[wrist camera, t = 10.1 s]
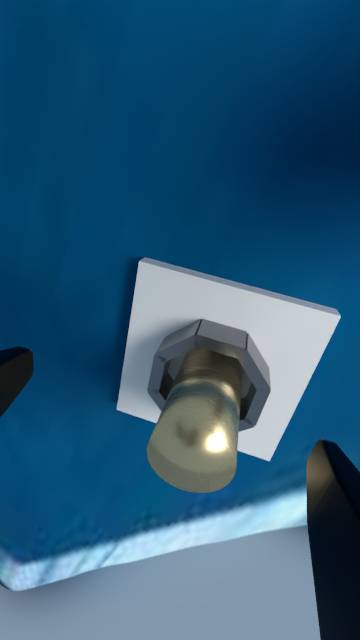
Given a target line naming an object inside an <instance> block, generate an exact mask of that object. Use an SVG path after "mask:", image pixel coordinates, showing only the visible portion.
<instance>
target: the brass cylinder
mask: <svg viewBox="0 0 360 640" xmlns="http://www.w3.org/2000/svg"><path fill="white" fill-rule="evenodd" d="M241 388H242V366H241V364H240V362H239V360H238V359H237V358H234V357H231V356H227V355H224V354H221V353H217V352H214V351H211V350H207V349H204V348H201V347H196V348H194V349H191V350H190V351H189V352H188V353H187V354H186V355H185V357H184V359H183V361H182V364H181V366H180V368H179V371H178V373H177V376H176V378H175V380H174V383H173V385H172V388H171V390H170V392H169V395H168V397H167V400H166V402H165V404H164V407H163V409H162V412H161V414H160V416H159V419H158V421H157V424H156V426H155V428H154V431H153V433H152V436H151V438H150V440H149V443H148V447H147V456H148V460H149V462H150V464H151V466H152V468H153V469H154V471H155V472H156V473H157V474H158V475H159V476H160V477H161V478H162V479H163V480H165V481H166V482H168V483H169V484H171V485H173V486H175V487H177V488H179V489H182V490H185V491H189V492H195V493H208V492H213V491H217V490H219V489H222V488H223V487H225V486H226V485H228V484H229V483H230V482H231V480H232V479H233V477H234V475H235V472H236V461H237V446H238V432H239V417H240V402H241Z"/></svg>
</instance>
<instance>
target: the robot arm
mask: <svg viewBox="0 0 360 640" xmlns="http://www.w3.org/2000/svg"><path fill="white" fill-rule="evenodd" d="M33 370H34V369H33V353H32V351H31V350H30V349H27V348H24V347H14V348H10V349H6V350H2V351H0V417H1V416H2V415H3V414H4V412H5V411H6V410H7V409H8V407H9V406H10V405H11V403H12V402H13V401H14V400H15V398H16V397H17V396H18V394H19V393H20V392H21V390H22V389H23V388H24V386H25V385H26V384H27V383H28V381H29V380H30V379H31V377H32V375H33ZM307 524H308V534H309V542H310V551H311V559H312V568H313V576H314V586H315V594H316V602H317V611H318V620H319V627H320V637H321V640H360V472H359V471H358V469H357V468H356V467H355V466H354V465H353V463H352V462H351V461H350V460H349V459H348V457H347V456H346V455H345V454H344V453H343V451H342V450H341V449H340V448H339V447H338V445H337V444H336V443H334V442H331V441H328V440H324V439H319V440H318V441H317V443H316V445H315V447H314V448H313V450H312V452H311V454H310V456H309V458H308V461H307Z"/></svg>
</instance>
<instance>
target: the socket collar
mask: <svg viewBox="0 0 360 640" xmlns="http://www.w3.org/2000/svg"><path fill="white" fill-rule="evenodd" d="M196 347H201V348H204V349H207V350H211V351H214V352H217V353H221V354H224V355H227V356H231V357H234V358H237V359H238V360H239V362H240V364H241V365H242V367H243V368H244V370H245V372H246V373H247V375H248V377H249V378H250V380H251V381H252V383H251V385H250V388H249V390H248V393H247V395H246V397H244V398H241V402H240V417H239V432H240V431H243V430H247V429H250V428H253V427H254V426H256V424H257V422H258V419H259V417H260V415H261V412H262V410H263V408H264V406H265V403H266V401H267V399H268V396H269V394H270V392H271V385H270V371H269V367H268V365H267V363H266V362H265V360H264V358H263V357H262V355H261V353H260V352H259V350H258V348H257V347H256V345H255V343H254V341H253V340H252V338H251V336H250V335H249V333H247V331H244V330H240V329H237V328H233V327H230V326H226V325H223V324H220V323H216V322H213V321H209V320H206V319H203V320H201V319H200V320H198V321H196V322H194V323H192V324H190V325H188V326H186V327H184V328H182V329H180V330H178V331H176V332H174V333H172V334H170V335H168V336H166V337H165V338H164V339H163V341H162V343H161V344H160V346H159V348H158V349H157V351H156V353H155V354H154V359H153V364H152V369H151V374H150V379H149V383H148V388H147V391H148V394H149V395H150V397H151V398H152V399H153V401H154V402H155V403H156V405H157V406H158V407H159V409H160V410H161V412H162V409H163V407H164V404H165V402H166V400H167V397H168V395H169V392H170V390H171V388H172V385H173V383H174V380H173V379H172V377H171V376H170V375H169V373H168V369H169V365H170V361H171V359H172V358H174V357H176V356H178V355H181V354H183V353H185V352H187V351H189V350H191V349H194V348H196Z"/></svg>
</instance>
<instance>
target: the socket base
mask: <svg viewBox="0 0 360 640" xmlns="http://www.w3.org/2000/svg"><path fill="white" fill-rule="evenodd" d="M340 317H341V315H340V314H339V312H338V311H337V309H334V308H330V307H327V306H323V305H319V304H316V303H312V302H308V301H305V300H301V299H297V298H294V297H290V296H286V295H282V294H279V293H275V292H271V291H268V290H264V289H260V288H257V287H253V286H249V285H246V284H242V283H238V282H235V281H231V280H227V279H224V278H220V277H216V276H212V275H209V274H205V273H201V272H198V271H194V270H190V269H187V268H183V267H179V266H176V265H172V264H168V263H165V262H161V261H157V260H154V259H150V258H146V257H144V258H143V259H141V260H140V261H139V264H138V271H137V278H136V284H135V291H134V298H133V304H132V311H131V317H130V324H129V331H128V337H127V344H126V351H125V357H124V364H123V371H122V377H121V384H120V391H119V397H118V404H117V410H119V411H122V412H125V413H128V414H131V415H134V416H137V417H139V418H142V419H145V420H148V421H151V422H154V423H157V421H158V419H159V416H160V414H161V410H160V409H159V407H158V406H157V405H156V403H155V402H154V401H153V399H152V398H151V397H150V395H149V394H148V391H147V388H148V383H149V379H150V374H151V369H152V364H153V359H154V354H155V353H156V351H157V349H158V348H159V346H160V344H161V343H162V341H163V339H164V338H165V337H166V336H168V335H170V334H172V333H174V332H176V331H178V330H180V329H182V328H184V327H186V326H188V325H190V324H192V323H194V322H196V321H198V320H200V319H201V320H203V319H206V320H209V321H213V322H216V323H220V324H223V325H226V326H230V327H233V328H237V329H240V330H244V331H247V333H249V335H250V336H251V338H252V340H253V341H254V343H255V345H256V347H257V348H258V350H259V352H260V353H261V355H262V357H263V358H264V360H265V362H266V363H267V365H268V367H269V371H270V385H271V392H270V394H269V396H268V399H267V401H266V403H265V406H264V408H263V410H262V412H261V415H260V417H259V419H258V422H257V424H256V426H254V427H253V428H250V429H247V430H243V431H240V432H238V446H237V450H238V451H241V452H243V453H246V454H249V455H252V456H255V457H258V458H261V459H264V460H267V461H270V459H271V457H272V455H273V453H274V451H275V449H276V447H277V445H278V443H279V441H280V439H281V437H282V435H283V433H284V431H285V429H286V427H287V425H288V423H289V421H290V419H291V417H292V415H293V413H294V411H295V409H296V407H297V405H298V402H299V400H300V398H301V396H302V394H303V392H304V390H305V388H306V386H307V384H308V382H309V380H310V378H311V376H312V374H313V372H314V370H315V368H316V366H317V364H318V362H319V360H320V358H321V356H322V354H323V352H324V350H325V348H326V346H327V344H328V342H329V340H330V338H331V336H332V334H333V332H334V330H335V328H336V326H337V324H338V321H339V319H340ZM189 351H190V350H189ZM189 351H187V352H185V353H183V354H181V355H178V356H176V357H174V358H172V359H171V361H170V365H169V369H168V373H169V375H170V376H171V377H172V379H173V380H175V378H176V376H177V373H178V371H179V368H180V366H181V364H182V361H183V359H184V357H185V355H186V354H187V353H188V352H189ZM241 366H242V365H241ZM251 383H252V381H251V380H250V378H249V377H248V375H247V373H246V372H245V370H244V368H243V367H242V388H241V398H244V397H246V395H247V393H248V390H249V388H250V385H251Z"/></svg>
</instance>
